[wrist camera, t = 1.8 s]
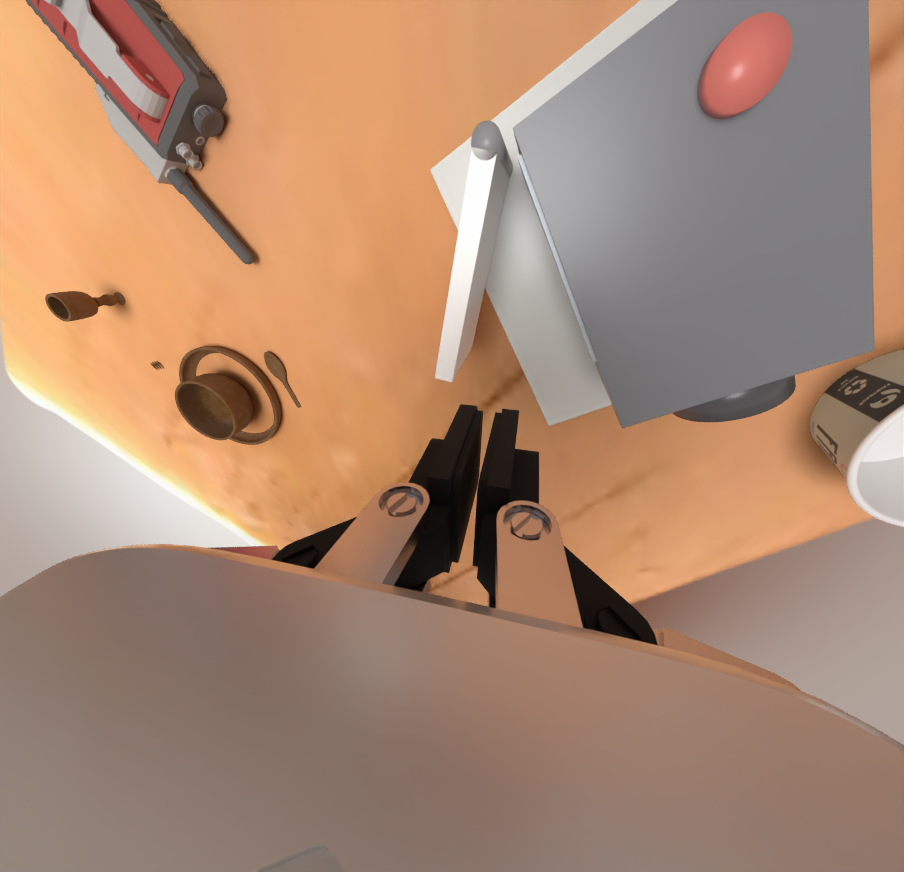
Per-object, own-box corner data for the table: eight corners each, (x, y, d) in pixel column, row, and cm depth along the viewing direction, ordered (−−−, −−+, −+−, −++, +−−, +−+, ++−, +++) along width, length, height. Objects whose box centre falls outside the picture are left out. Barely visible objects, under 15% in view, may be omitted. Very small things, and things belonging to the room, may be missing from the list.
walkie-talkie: (45, 28, 24) (256, 269, 30) (-43, -9, 21) (217, 275, 27) (71, -119, 20) (310, 195, 26) (-34, -197, 16) (272, 189, 22)
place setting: (216, 445, 44) (175, 471, 39) (104, 288, 35) (34, 297, 30) (321, 427, 38) (289, 456, 34) (220, 234, 29) (156, 235, 25)
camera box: (830, 327, 23) (1003, 382, 14) (548, 424, 31) (552, 495, 23) (799, -124, 15) (1149, -607, 6) (431, 170, 23) (369, 134, 15)
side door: (472, 349, 28) (453, 383, 22) (457, 345, 28) (433, 377, 22) (515, 156, 21) (504, 123, 15) (494, 152, 21) (474, 117, 15)
